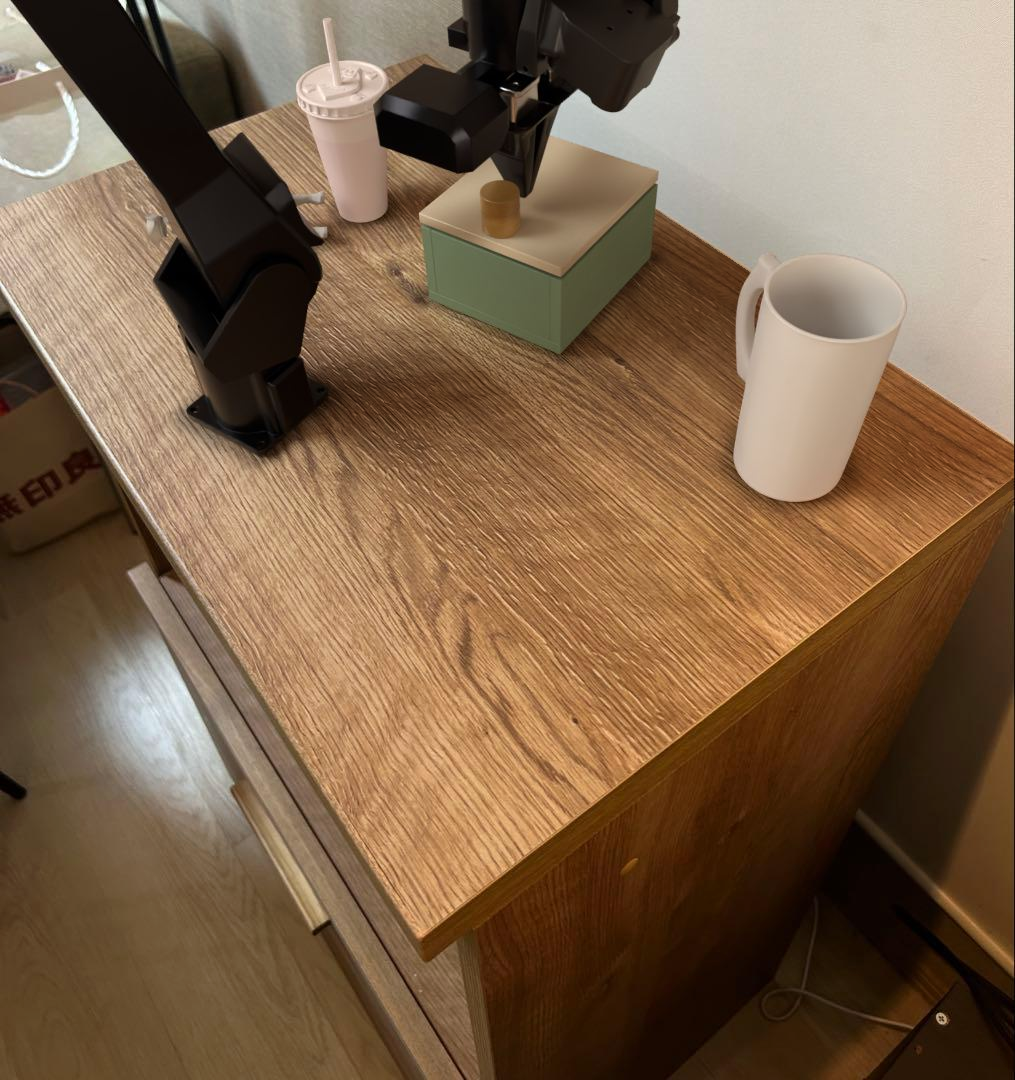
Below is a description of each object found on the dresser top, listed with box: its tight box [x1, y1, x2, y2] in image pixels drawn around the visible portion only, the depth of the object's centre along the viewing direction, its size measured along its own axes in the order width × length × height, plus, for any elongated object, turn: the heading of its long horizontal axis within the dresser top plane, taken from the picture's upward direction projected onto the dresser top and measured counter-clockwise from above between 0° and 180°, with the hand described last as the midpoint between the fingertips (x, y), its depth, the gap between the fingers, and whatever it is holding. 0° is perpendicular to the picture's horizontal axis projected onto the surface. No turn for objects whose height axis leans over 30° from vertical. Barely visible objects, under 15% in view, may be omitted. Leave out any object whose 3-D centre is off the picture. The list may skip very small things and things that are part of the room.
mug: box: [732, 252, 908, 503], centre depth 53 cm, size 10×7×12 cm, turn 25°
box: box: [420, 182, 659, 355], centre depth 66 cm, size 11×12×6 cm
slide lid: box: [418, 134, 659, 277], centre depth 62 cm, size 11×12×3 cm
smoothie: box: [295, 17, 391, 224], centre depth 68 cm, size 6×6×14 cm
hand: (521, 194), depth 61 cm, fingers closed
